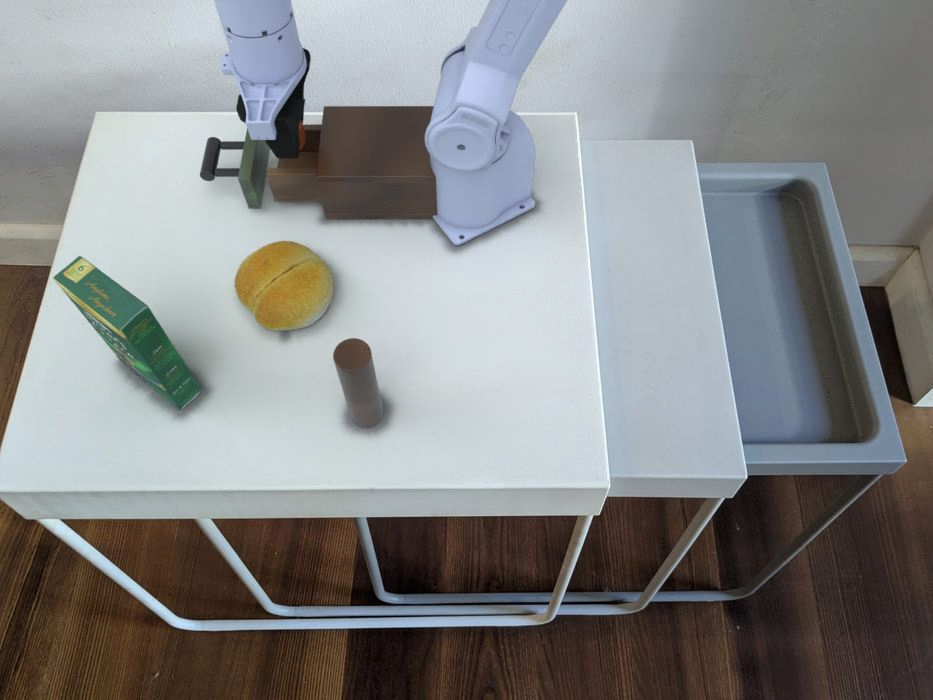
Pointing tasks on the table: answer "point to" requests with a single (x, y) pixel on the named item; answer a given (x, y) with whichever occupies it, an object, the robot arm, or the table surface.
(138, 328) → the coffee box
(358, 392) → the post stand
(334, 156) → the cabinet
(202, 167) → the drawer
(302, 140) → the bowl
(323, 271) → the bread roll
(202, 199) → the table surface
